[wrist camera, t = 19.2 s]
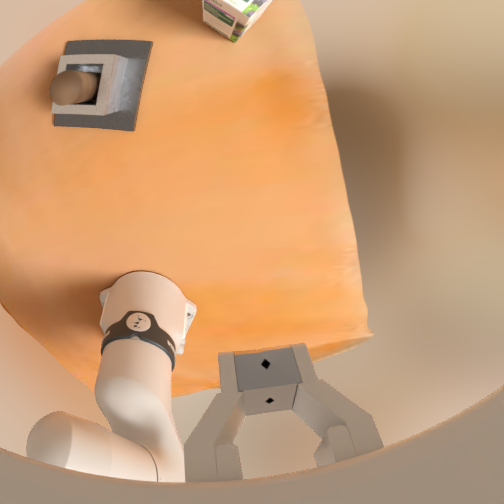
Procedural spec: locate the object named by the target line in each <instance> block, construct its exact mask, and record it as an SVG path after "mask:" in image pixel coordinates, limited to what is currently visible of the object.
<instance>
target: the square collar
mask: <svg viewBox="0 0 504 504" xmlns="http://www.w3.org/2000/svg"><path fill="white" fill-rule="evenodd" d="M152 46H153V42H151V41H135V40H81V41H68V43H67V47H66V51H65V55H61V56H60V61H59V66H58V71H57V75H58V74H59V73H61V72H63V71H67V70H69V71H84V72H95V73H102V74H101V79H100V85H99V90H98V96H97V100H92V101H86V102H80V103H75V104H70V105H64V106H60V105H57V104H55V103H54V102H53V104H52V113H51V114H55V122H54V126H67V127H87V128H102V129H114V130H124V131H135V127H136V120H137V115H138V109H139V103H140V98H141V93H142V88H143V83H144V79H145V74H146V70H147V66H148V61H149V57H150V53H151V49H152Z"/></svg>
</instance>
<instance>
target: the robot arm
mask: <svg viewBox="0 0 504 504" xmlns="http://www.w3.org/2000/svg"><path fill="white" fill-rule="evenodd" d="M100 301H101V304H102V307H103V312H102V316H101V320H100V326H101V327H102V331H103V333H104V337H103V340H102V344H101V346H102V347H101V356H102V358H101V362H100V366H99V370H98V375H97V379H96V384H95V397H96V401H97V404H98V406H99V408H100V410H101V411H102V413H103V414H104V415H105V417H106V418H107V420H108V422H109V424H110V425H111V428H112V431H113V432H112V431H110V430H108V429H106V428H105V427H103V426H101V425H99V424H97V423H94V422H91V421H88V420H85V419H82V418H80V417H77V416H74V415H71V414H68V413H65V412H62V411H57V412H53V413H50V414H48V415H46V416H44V417H43V418H41V419H40V420H39V421H38V422H37V423H36V424H35V425H34V426H33V428H32V430H31V431H30V434H29V436H28V440H27V447H26V449H27V450H26V451H27V457H24V456H21V455H18V454H16V453H13V452H10V451H7V450H5V449H2V448H0V504H504V385H503V386H502V387H500V388H499V389H497V390H496V391H494V392H493V393H491V394H490V395H488V396H487V397H485V398H484V399H482V400H480V401H479V402H477V403H475V404H474V405H473V406H470V407H469V408H467V409H465V410H464V411H462V412H460V413H458V414H456V415H454V416H453V417H451V418H449V419H447V420H445V421H443V422H441V423H439V424H437V425H435V426H433V427H431V428H429V429H427V430H424V431H422V432H420V433H418V434H416V435H413V436H411V437H409V438H406V439H404V440H401V441H399V442H396V443H394V444H391V445H389V446H386V447H384V446H383V443H382V440H381V438H380V435H379V433H378V430H377V428H376V425H375V423H374V421H373V418H372V416H371V415H370V414H369V413H367V412H366V411H365V410H363V409H362V408H360V407H359V406H357V405H356V404H355V403H353V402H352V401H351V400H349V399H348V398H347V397H345V396H344V395H342V394H341V393H340V392H339V391H337V390H336V389H334V388H333V387H332V386H330V385H329V384H328V383H326V382H325V381H324V380H323V379H322V380H318V378H317V375H316V372H315V369H314V366H313V363H312V360H311V358H310V355H309V352H308V349H307V346H306V344H305V343H300V344H293V345H284V346H277V347H270V348H263V349H259V350H247V351H234V354H233V352H221V353H218V361H219V373H220V385H221V393H220V394H216V396H215V398H214V399H213V401H212V402H211V404H210V406H209V407H208V409H207V410H206V412H205V413H204V415H203V417H202V418H201V419H200V421H199V423H198V424H197V426H196V427H195V429H194V430H193V432H192V433H191V435H190V436H189V438H188V439H187V441H186V443H185V444H184V448H183V446H182V443H181V441H180V438H179V435H178V432H177V429H176V425H175V422H174V418H173V413H172V405H171V373H172V371H173V369H174V365H175V360H176V354H180V355H181V354H183V351H184V344H185V336H186V333H187V331H188V329H189V327H190V325H191V323H192V320H193V318H194V316H195V314H196V311H197V306H196V305H195V304H194V303H193V302H191V301H190V300H188V299H187V298H186V297H185V296H184V295H183V293H182V292H181V290H180V289H179V288H178V287H177V286H176V285H175V284H174V283H173V282H172V281H170V280H169V279H167V278H166V277H164V276H161V275H159V274H156V273H152V272H144V271H140V272H132V273H129V274H126V275H124V276H122V277H121V278H119V279H118V280H117V281H116V282H115V283H114V285H113V286H112V287H110V288H107V289H105V290H103V291H101V293H100ZM188 313H190V314H188ZM290 409H292V410H293V412H294V413H295V414H297V416H299V418H301V419H302V420H303V421H304V422H305V423H306V424H307V425H308V426H309V427H310V428H311V429H312V430H313V431H314V432H315V433H316V434H317V435H318V436H319V437H320V438H321V439H322V442H321V444H320V445H319V447H318V448H317V450H316V452H315V453H314V457H315V461H316V465H317V467H316V468H312V469H307V470H302V471H297V472H292V473H287V474H281V475H275V476H269V477H261V478H254V479H244V480H243V475H242V470H241V463H240V457H239V452H238V446H236V445H234V444H233V441H234V439H235V437H236V435H237V433H238V431H239V429H240V427H241V425H242V423H243V421H244V419H245V416H247V415H254V414H261V413H268V412H275V411H283V410H290Z"/></svg>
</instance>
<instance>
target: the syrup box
mask: <svg viewBox="0 0 504 504" xmlns="http://www.w3.org/2000/svg"><path fill="white" fill-rule="evenodd" d="M271 2H272V0H202V7H203V22H204V23H206V24H207V25H209V26H210V27H212V28H213V29H215V30H216V31H218V32H219V33H221V34H222V35H224V36H225V37H227V38H228V39H230V40H232V41H233V42H237V40H238V39H239V38H240V37H241V36H242V35H243V34H244V33H245V32H246V31H247V30H248V28H249V27H250V26H251V25H252V24H253V23H254V22H255V21H256V20H257V19H258V18H259V17H260V16H261V14H262V13H263V12H264V11H265V9H266V8H267V7H268V5H269V4H270V3H271Z"/></svg>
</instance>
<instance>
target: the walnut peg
mask: <svg viewBox="0 0 504 504" xmlns="http://www.w3.org/2000/svg"><path fill="white" fill-rule="evenodd" d="M101 74H102V73H95V72H84V71H69V70H67V71H63V72H61V73H59V74H58V75H57V76H56V77H55V78H54V79H53V81H52V83H51V86H50V96H51V99H52V101H53V102H54V103H55V104H57V105H60V106H64V105H70V104H75V103H80V102H86V101H92V100H97V96H98V90H99V85H100V79H101Z"/></svg>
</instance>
